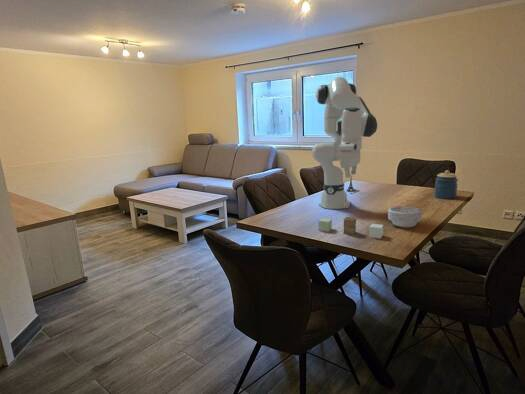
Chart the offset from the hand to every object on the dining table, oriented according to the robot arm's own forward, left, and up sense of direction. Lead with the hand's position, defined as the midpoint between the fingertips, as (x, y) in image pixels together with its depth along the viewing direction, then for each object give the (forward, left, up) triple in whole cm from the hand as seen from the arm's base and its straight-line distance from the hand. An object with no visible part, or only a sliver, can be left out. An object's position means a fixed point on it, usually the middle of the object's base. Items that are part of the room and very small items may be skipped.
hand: (350, 175), depth 152 cm
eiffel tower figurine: (-91, -24, -28) cm, 98 cm away
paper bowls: (-22, +21, -27) cm, 41 cm away
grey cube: (0, +12, -27) cm, 30 cm away
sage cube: (0, -12, -27) cm, 30 cm away
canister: (-93, +37, -27) cm, 104 cm away
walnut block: (0, 0, -27) cm, 27 cm away
